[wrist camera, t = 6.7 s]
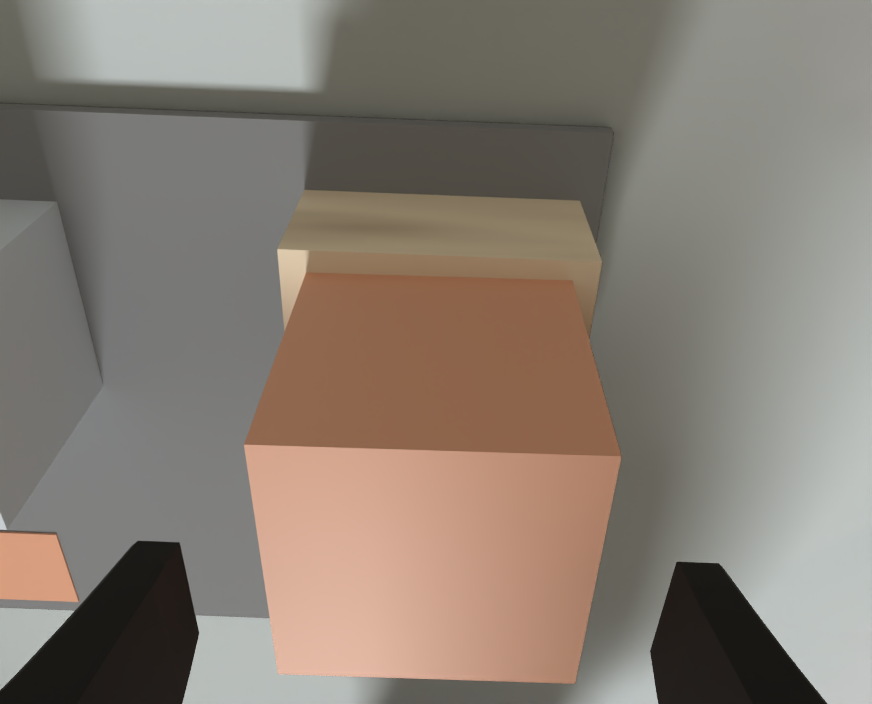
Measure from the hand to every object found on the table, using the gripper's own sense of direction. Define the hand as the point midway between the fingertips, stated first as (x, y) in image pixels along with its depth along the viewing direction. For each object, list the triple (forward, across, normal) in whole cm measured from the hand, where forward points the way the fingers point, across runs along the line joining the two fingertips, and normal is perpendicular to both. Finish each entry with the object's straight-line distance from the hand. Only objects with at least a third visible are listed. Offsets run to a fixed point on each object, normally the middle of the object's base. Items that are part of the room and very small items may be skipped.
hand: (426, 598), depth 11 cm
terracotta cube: (+5, 0, 0) cm, 5 cm away
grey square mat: (+9, +6, +3) cm, 11 cm away
